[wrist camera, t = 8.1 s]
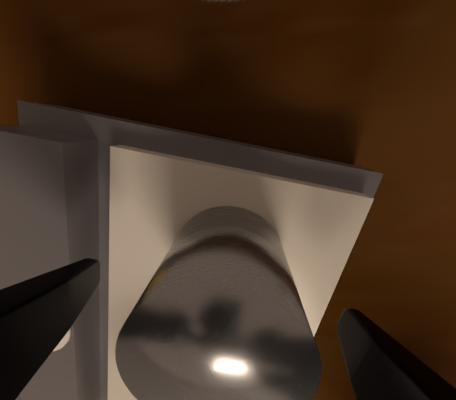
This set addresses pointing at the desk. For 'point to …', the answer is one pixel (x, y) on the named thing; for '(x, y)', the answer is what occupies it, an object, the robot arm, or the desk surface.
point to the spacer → (220, 318)
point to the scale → (153, 220)
